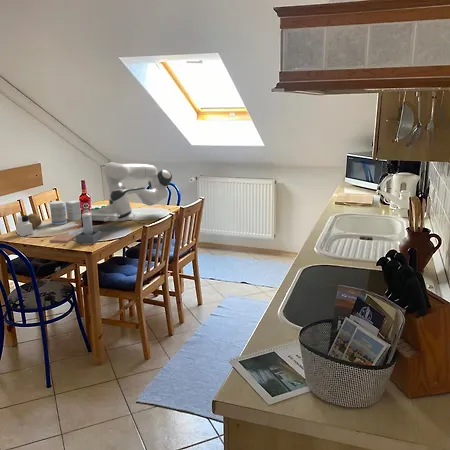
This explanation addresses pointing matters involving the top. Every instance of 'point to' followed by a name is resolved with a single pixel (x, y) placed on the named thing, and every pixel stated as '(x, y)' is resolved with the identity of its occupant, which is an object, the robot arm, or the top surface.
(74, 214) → the supplement box
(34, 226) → the natural sponge
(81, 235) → the parts tub
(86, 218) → the canister
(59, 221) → the supplement tub
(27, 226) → the medicine bottle
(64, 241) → the terracotta tile
